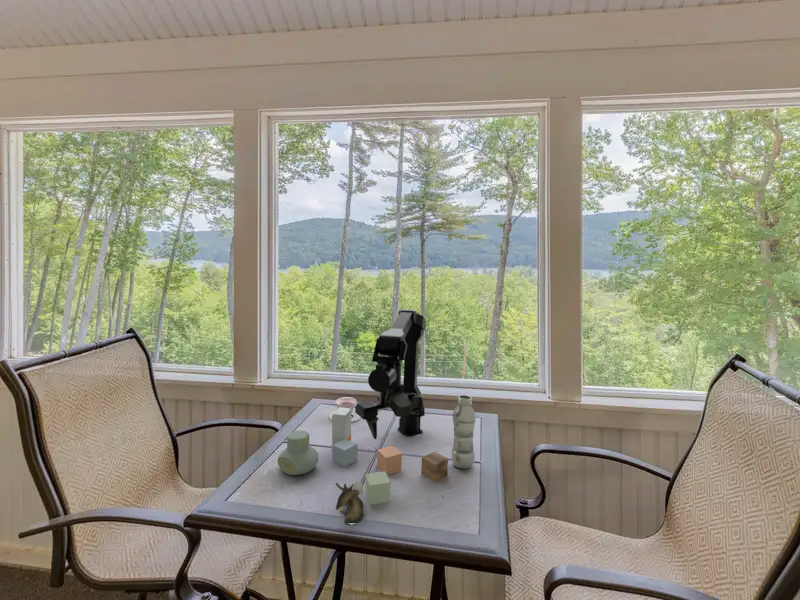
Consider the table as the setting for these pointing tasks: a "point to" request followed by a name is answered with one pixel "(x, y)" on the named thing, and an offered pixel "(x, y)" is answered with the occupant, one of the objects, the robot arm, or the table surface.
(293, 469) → the air freshener
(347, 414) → the skincare box
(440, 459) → the walnut cube
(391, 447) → the terracotta cube
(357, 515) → the deer head figurine
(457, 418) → the plastic bottle
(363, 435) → the table surface
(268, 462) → the table surface
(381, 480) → the sage cube
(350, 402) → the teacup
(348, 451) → the slate cube
